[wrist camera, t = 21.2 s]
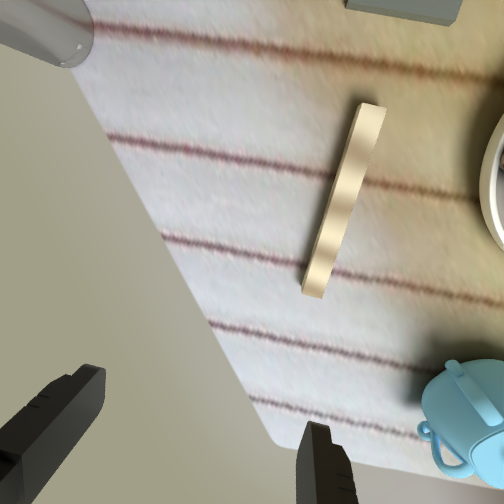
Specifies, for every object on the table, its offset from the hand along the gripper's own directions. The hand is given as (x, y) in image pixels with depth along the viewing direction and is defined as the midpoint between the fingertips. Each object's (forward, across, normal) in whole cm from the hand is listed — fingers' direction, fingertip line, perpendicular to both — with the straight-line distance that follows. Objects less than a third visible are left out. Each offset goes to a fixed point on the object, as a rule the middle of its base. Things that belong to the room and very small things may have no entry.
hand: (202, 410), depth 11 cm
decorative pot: (+34, +37, -20) cm, 54 cm away
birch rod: (+34, +9, +4) cm, 36 cm away
